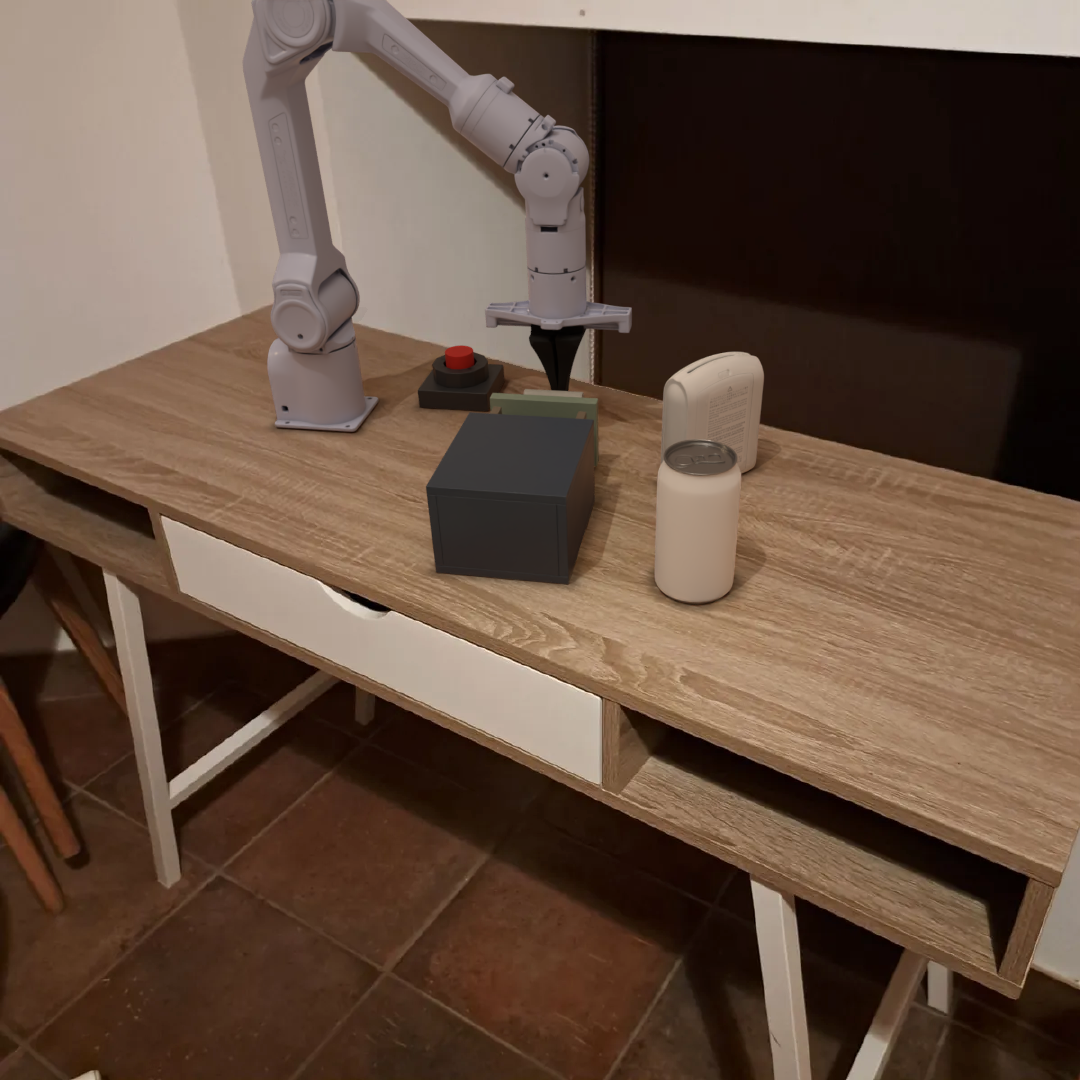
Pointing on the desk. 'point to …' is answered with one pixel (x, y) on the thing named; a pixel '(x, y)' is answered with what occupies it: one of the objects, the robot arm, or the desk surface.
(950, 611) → the desk surface
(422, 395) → the control block
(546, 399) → the drawer
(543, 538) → the cabinet
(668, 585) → the can
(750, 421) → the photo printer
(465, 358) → the button
